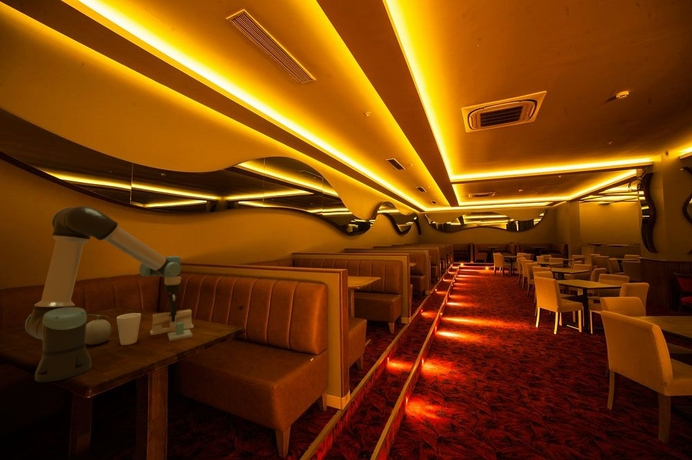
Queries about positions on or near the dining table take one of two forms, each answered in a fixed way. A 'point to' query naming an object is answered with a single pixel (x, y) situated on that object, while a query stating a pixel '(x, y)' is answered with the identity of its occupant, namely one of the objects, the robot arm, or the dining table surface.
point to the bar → (165, 318)
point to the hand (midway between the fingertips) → (172, 326)
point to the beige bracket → (159, 329)
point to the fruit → (97, 330)
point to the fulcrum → (179, 332)
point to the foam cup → (128, 328)
